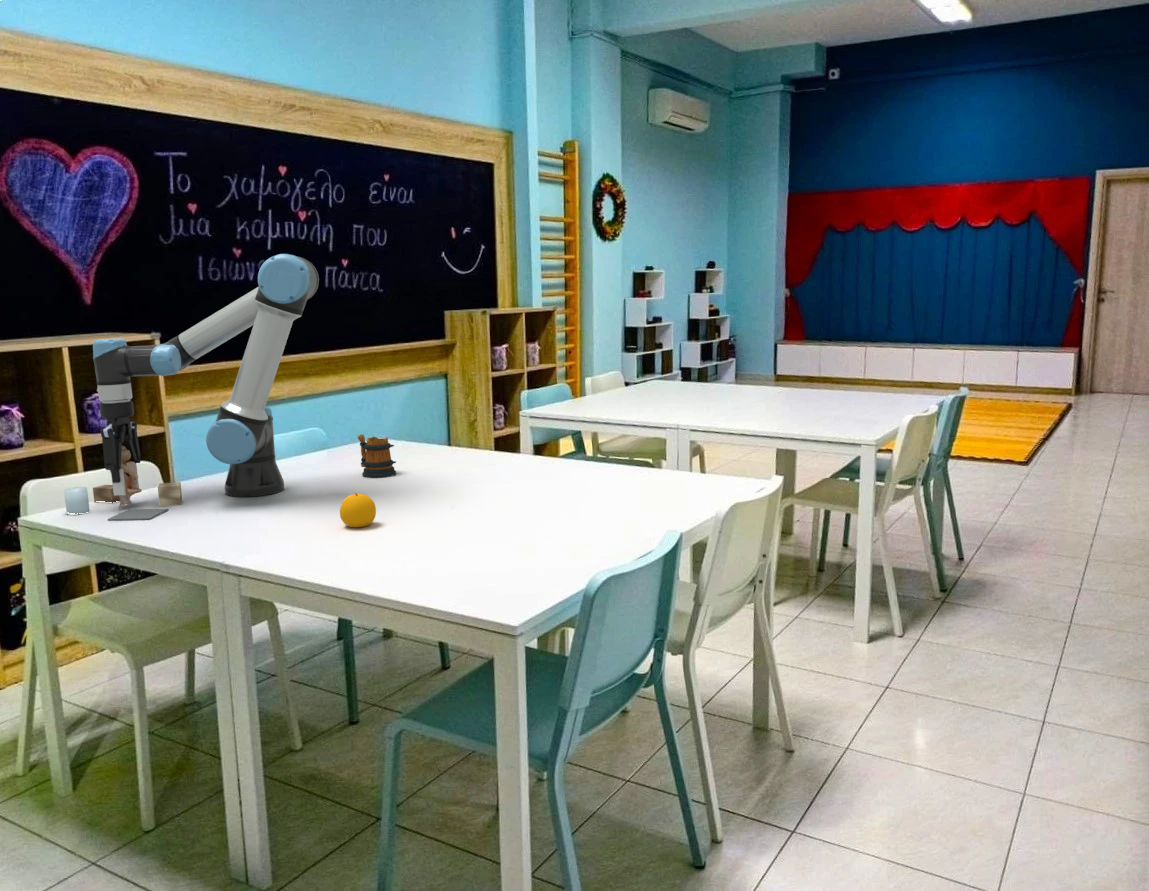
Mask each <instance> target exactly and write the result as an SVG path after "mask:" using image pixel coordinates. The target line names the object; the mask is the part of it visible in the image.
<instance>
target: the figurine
mask: <svg viewBox="0 0 1149 891" xmlns="http://www.w3.org/2000/svg"><path fill="white" fill-rule="evenodd" d="M130 457H131V454H130V451H129V450H127V449H126V447H125V446H122V451H121V469H123V472H124V481H125V489H126V495H118V497H119V499H120V501H119V505H120V506H126V505H130V504H132V500H131V497H132V496H133V495H135V494H139V493H141V492H142V490H143V489H142V488H140V487H139V488H138V487H137V481H136V480H137V479H138V480H139V475H137V474H138V468H137V469H136V465H137V463H136V464H135V462H132V461H130V462H128V461H129V459H130ZM109 472H110V473H111V470H109Z"/></svg>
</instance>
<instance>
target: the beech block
mask: <svg viewBox="0 0 1149 891" xmlns="http://www.w3.org/2000/svg"><path fill="white" fill-rule="evenodd" d="M182 494H183V492H182V482H181V481H178V482H177V481H175V482H164V483H158V486H157V495H158V503H159V507H166V506H169V507H170V506H178V505H182V503H183V495H182Z"/></svg>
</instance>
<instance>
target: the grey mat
mask: <svg viewBox="0 0 1149 891" xmlns="http://www.w3.org/2000/svg"><path fill="white" fill-rule="evenodd" d="M169 510H170V509H169V508H138V509H137V508H134V509H133V508H132V509H131V508H130V509H126V510H124V511H122V512H119V513H118V514H115V515H114V516H112V517H109V518H107V521H109V522H110V521H111V522H112V521H115V522H116V521H117V522H118V521H119V522H121V521H151V520H153V519H154V518H156V517H158V516H160V515H162V514H164V513H166V512H168V511H169Z"/></svg>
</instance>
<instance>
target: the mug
mask: <svg viewBox="0 0 1149 891" xmlns="http://www.w3.org/2000/svg"><path fill="white" fill-rule="evenodd" d="M357 440H358V441H359V446H360V454H361V460H360V461H361V462H360V466H361V468H363V472H362V473H361V474H362V477H363V478H365V479H385V478H390V477H394V476H396V475H397V471H396V470H395V466H393V465H394V464H396V463H397V460H396V461H394V460H393V459H392V457H391V450H390V449H391V448H393V447H394V446H395V445H394V444H391V443H390V442H389V437H385V438H378V437H376V436H372V437H368V438H367V439H366V438H365V435H364V434H359V435H358V436H357Z"/></svg>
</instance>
